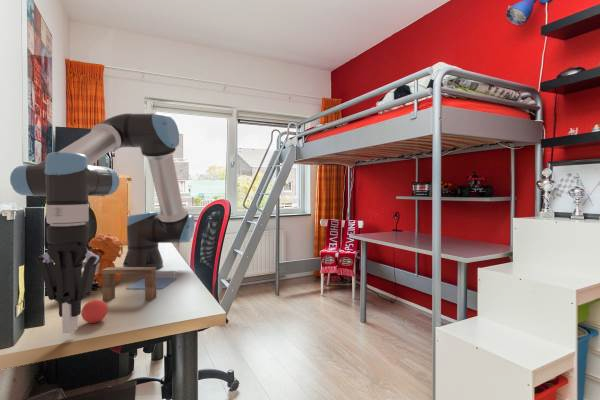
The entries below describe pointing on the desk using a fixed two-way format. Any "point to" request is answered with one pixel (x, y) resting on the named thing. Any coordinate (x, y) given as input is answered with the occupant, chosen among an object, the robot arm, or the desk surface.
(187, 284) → the desk surface
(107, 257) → the toy dinosaur
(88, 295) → the robot arm
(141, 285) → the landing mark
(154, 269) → the bridge
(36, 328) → the desk surface
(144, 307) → the desk surface
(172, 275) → the stopper wall
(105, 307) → the ball
